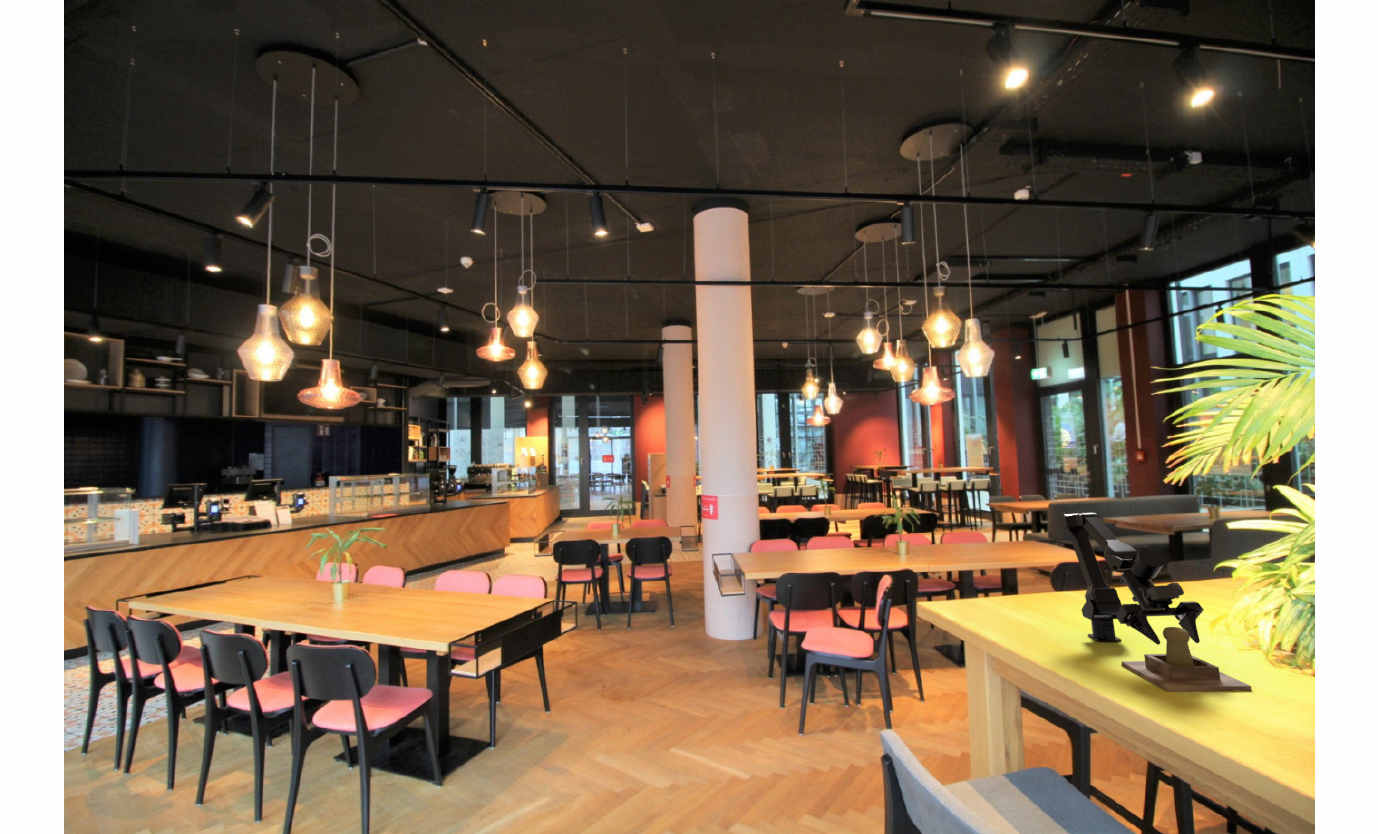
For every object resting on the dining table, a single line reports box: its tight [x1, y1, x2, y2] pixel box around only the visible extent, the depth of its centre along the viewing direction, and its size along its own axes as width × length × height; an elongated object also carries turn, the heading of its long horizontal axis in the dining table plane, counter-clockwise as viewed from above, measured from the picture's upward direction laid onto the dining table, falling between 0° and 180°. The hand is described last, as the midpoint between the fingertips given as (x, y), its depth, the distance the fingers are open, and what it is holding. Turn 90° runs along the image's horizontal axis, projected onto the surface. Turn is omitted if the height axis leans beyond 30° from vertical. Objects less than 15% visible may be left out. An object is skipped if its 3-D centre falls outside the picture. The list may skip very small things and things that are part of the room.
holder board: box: [1120, 653, 1253, 692], centre depth 145 cm, size 18×18×4 cm
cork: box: [1162, 626, 1194, 666], centre depth 146 cm, size 6×6×11 cm
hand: (1178, 643), depth 145 cm, fingers open, 9 cm apart
